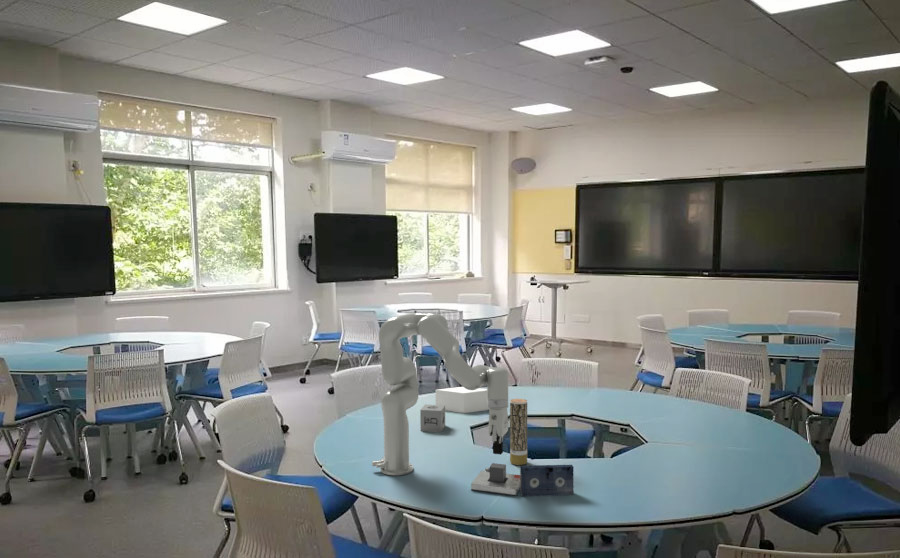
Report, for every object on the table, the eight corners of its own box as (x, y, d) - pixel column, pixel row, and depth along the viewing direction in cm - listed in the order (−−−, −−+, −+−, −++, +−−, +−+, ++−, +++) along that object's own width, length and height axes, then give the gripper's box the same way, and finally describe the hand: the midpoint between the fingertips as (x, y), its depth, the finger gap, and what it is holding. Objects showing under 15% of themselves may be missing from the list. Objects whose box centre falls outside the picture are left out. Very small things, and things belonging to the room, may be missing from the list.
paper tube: (518, 467, 232) (518, 403, 231) (506, 462, 238) (506, 400, 236) (530, 463, 236) (530, 401, 235) (519, 458, 242) (519, 397, 240)
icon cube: (420, 431, 280) (420, 409, 279) (425, 424, 289) (424, 404, 289) (441, 431, 278) (441, 410, 277) (445, 425, 288) (445, 405, 287)
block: (436, 405, 325) (436, 386, 325) (491, 405, 324) (491, 386, 324) (434, 413, 310) (434, 393, 310) (492, 413, 310) (492, 393, 309)
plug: (484, 485, 213) (484, 466, 213) (487, 481, 217) (487, 462, 217) (503, 487, 211) (503, 468, 210) (506, 483, 215) (506, 464, 214)
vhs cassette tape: (572, 492, 208) (572, 464, 208) (574, 495, 205) (574, 467, 205) (519, 493, 208) (519, 465, 207) (521, 496, 205) (521, 468, 204)
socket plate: (471, 490, 210) (471, 481, 210) (481, 477, 222) (481, 468, 222) (515, 496, 205) (515, 487, 204) (523, 482, 217) (523, 474, 217)
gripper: (502, 408, 204) (502, 461, 205) (513, 398, 218) (513, 447, 219) (481, 407, 206) (481, 459, 207) (493, 396, 220) (493, 445, 221)
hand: (497, 453), depth 213 cm, fingers closed
